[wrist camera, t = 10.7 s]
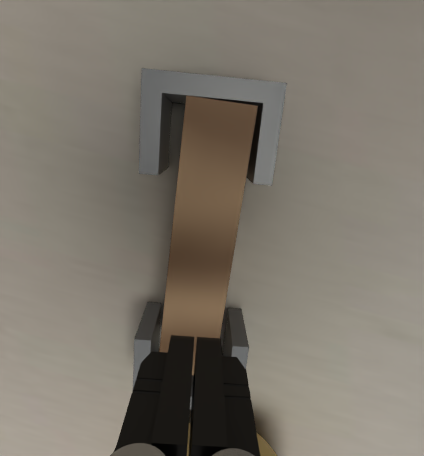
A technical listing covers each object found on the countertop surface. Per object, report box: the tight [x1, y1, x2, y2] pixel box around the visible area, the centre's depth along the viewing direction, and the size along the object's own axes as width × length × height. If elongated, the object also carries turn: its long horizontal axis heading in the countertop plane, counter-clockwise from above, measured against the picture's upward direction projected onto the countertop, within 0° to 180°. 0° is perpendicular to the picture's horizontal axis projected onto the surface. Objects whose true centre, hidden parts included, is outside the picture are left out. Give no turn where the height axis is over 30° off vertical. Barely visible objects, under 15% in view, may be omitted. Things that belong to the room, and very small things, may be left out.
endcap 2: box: [133, 302, 249, 409], centre depth 22 cm, size 5×7×4 cm
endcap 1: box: [139, 68, 287, 185], centre depth 18 cm, size 5×7×4 cm
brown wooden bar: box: [159, 95, 258, 375], centre depth 20 cm, size 16×4×5 cm, turn 172°
